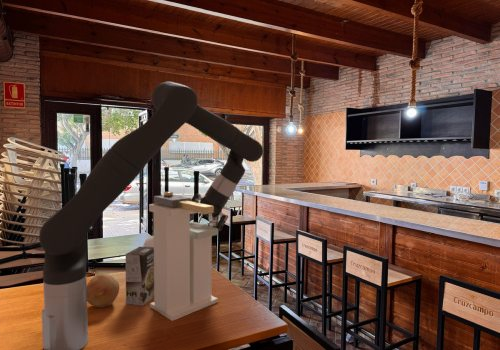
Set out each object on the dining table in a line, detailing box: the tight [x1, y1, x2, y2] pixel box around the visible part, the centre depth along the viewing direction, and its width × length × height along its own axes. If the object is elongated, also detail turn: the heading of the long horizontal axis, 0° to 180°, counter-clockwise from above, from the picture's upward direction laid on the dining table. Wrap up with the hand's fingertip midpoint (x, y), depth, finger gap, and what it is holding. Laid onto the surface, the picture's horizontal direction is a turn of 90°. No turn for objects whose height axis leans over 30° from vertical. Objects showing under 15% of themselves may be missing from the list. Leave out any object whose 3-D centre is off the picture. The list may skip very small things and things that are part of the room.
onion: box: [86, 273, 120, 308], centre depth 105 cm, size 10×10×10 cm
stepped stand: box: [148, 203, 219, 322], centre depth 106 cm, size 17×12×32 cm
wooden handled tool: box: [153, 191, 214, 215], centre depth 98 cm, size 6×22×4 cm, turn 46°
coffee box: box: [125, 246, 154, 307], centre depth 110 cm, size 9×6×16 cm
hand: (195, 230), depth 114 cm, fingers open, 8 cm apart
